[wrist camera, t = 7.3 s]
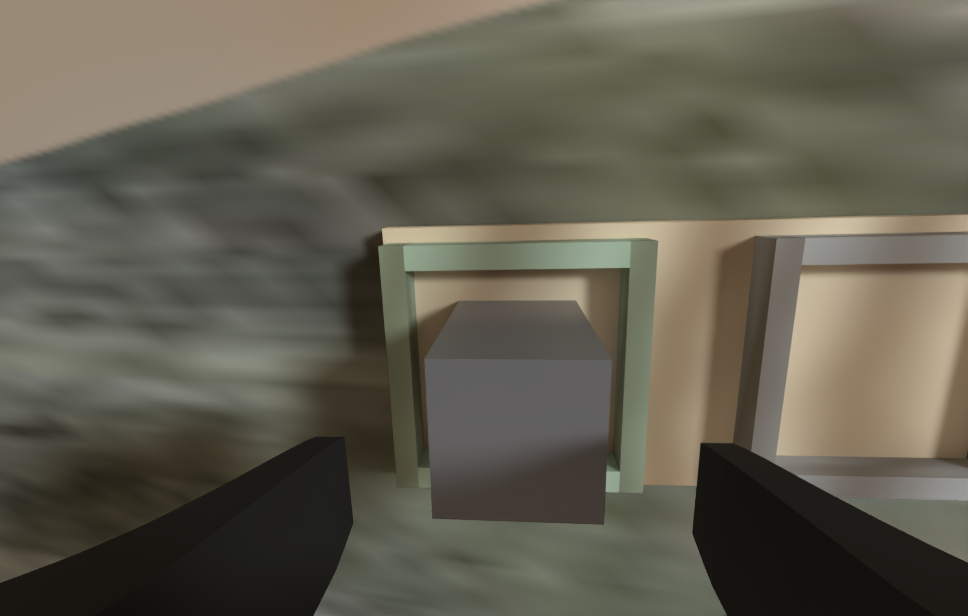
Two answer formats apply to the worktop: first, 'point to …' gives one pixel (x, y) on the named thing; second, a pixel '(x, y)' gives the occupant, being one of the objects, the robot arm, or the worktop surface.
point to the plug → (518, 414)
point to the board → (724, 340)
